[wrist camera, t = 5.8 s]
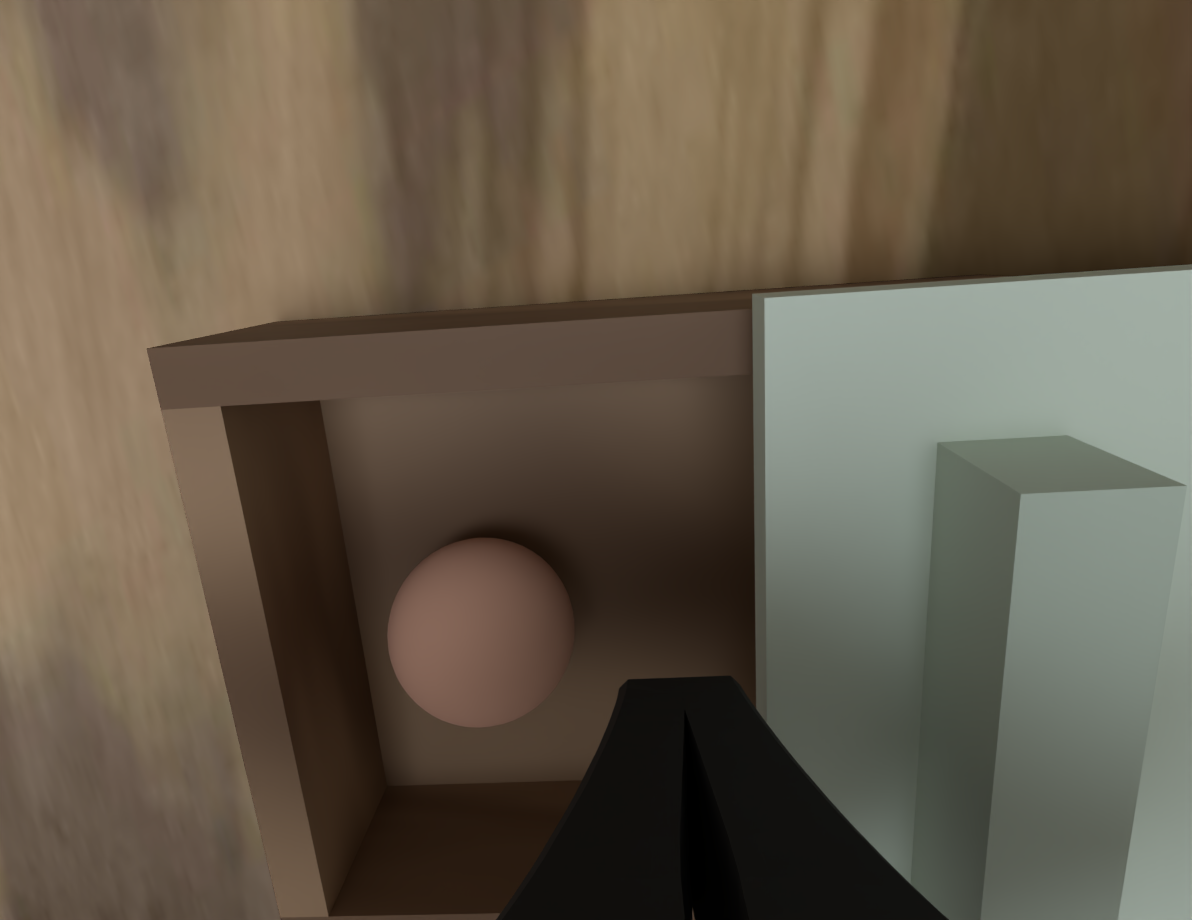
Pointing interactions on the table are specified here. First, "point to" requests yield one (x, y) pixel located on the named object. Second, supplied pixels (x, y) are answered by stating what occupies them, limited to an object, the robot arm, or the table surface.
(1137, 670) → the lid
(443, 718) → the ball
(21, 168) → the table surface
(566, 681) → the walnut box
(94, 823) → the table surface
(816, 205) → the table surface
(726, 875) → the robot arm
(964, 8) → the table surface
